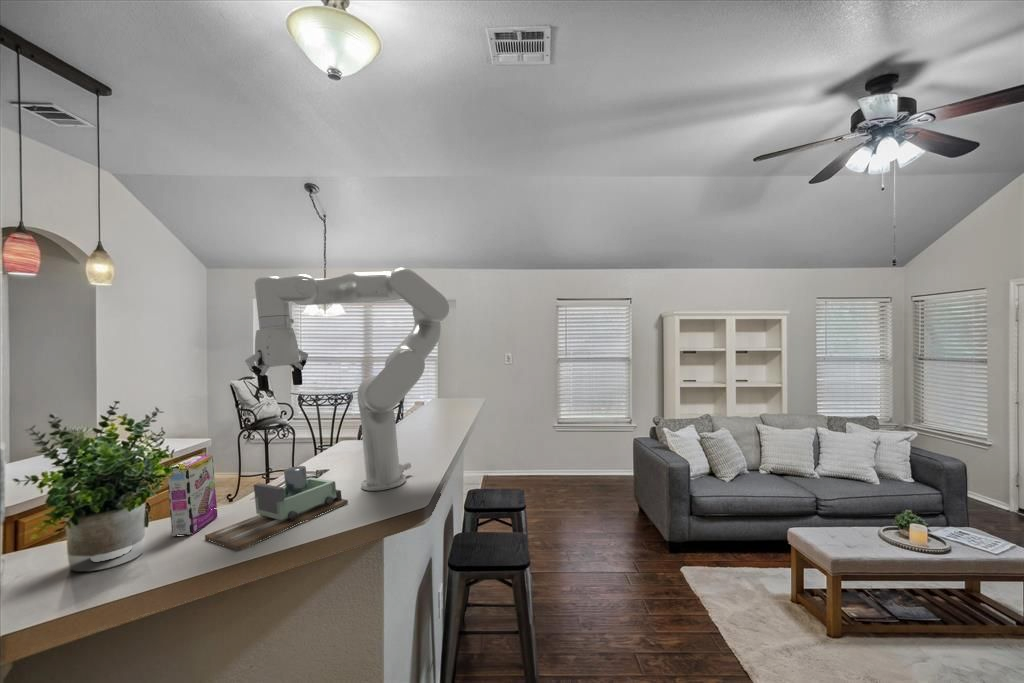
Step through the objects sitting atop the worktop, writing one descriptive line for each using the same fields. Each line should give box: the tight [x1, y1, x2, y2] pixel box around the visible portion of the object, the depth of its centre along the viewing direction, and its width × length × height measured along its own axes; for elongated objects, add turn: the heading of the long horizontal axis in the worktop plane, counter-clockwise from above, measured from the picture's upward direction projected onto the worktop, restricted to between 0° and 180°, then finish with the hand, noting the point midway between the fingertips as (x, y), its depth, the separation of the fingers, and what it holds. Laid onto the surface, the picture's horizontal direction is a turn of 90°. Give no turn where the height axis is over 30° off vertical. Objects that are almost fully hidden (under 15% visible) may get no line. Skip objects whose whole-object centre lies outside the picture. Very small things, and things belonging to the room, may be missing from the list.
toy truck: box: [253, 477, 337, 520], centre depth 118 cm, size 15×12×8 cm
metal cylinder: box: [283, 465, 308, 498], centre depth 118 cm, size 5×5×8 cm
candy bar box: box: [167, 454, 218, 537], centre depth 115 cm, size 11×5×16 cm, turn 5°
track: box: [204, 489, 349, 552], centre depth 114 cm, size 28×14×3 cm, turn 147°
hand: (281, 387), depth 125 cm, fingers open, 9 cm apart
